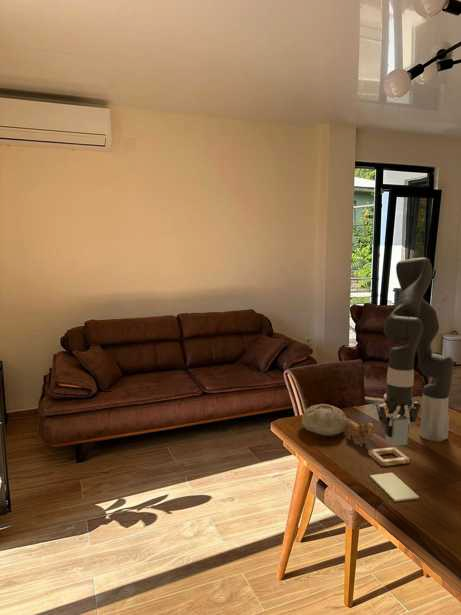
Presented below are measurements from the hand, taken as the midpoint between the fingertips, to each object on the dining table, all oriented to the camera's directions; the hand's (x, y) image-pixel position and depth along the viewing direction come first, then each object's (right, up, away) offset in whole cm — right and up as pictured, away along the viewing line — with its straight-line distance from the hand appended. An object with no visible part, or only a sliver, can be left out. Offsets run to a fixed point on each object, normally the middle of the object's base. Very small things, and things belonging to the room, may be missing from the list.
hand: (396, 435), depth 132 cm
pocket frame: (+5, -14, +21) cm, 26 cm away
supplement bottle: (+20, -9, +57) cm, 61 cm away
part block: (0, -2, 0) cm, 2 cm away
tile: (0, -17, +2) cm, 17 cm away
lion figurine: (-1, -13, +34) cm, 36 cm away
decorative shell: (-13, -11, +43) cm, 46 cm away
